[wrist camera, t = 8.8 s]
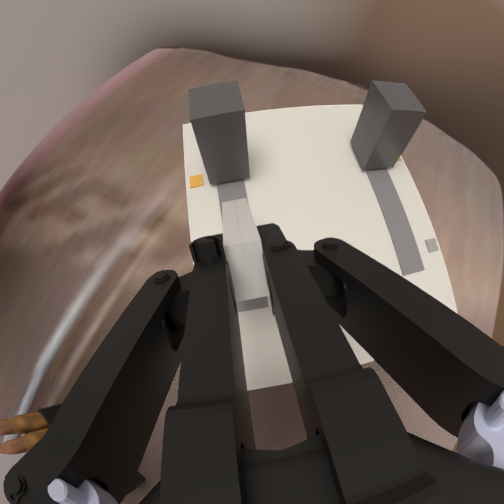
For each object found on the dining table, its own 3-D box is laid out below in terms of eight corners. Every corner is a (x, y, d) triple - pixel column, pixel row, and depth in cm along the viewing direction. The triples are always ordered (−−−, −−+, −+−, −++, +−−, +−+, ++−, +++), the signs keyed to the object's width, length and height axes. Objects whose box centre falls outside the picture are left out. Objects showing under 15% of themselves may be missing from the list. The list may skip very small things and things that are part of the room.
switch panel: (448, 328, 21) (461, 325, 19) (217, 390, 20) (213, 395, 18) (367, 115, 29) (372, 103, 27) (186, 136, 29) (182, 123, 27)
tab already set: (393, 167, 24) (426, 111, 16) (363, 169, 24) (392, 109, 16) (379, 140, 25) (405, 83, 17) (350, 141, 25) (371, 80, 17)
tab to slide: (250, 177, 24) (244, 110, 16) (210, 184, 23) (190, 120, 16) (243, 147, 25) (237, 80, 17) (206, 154, 25) (188, 89, 17)
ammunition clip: (62, 411, 19) (-24, 425, 8) (69, 401, 20) (-20, 413, 8) (137, 487, 17) (73, 544, 6) (146, 479, 17) (81, 539, 6)
